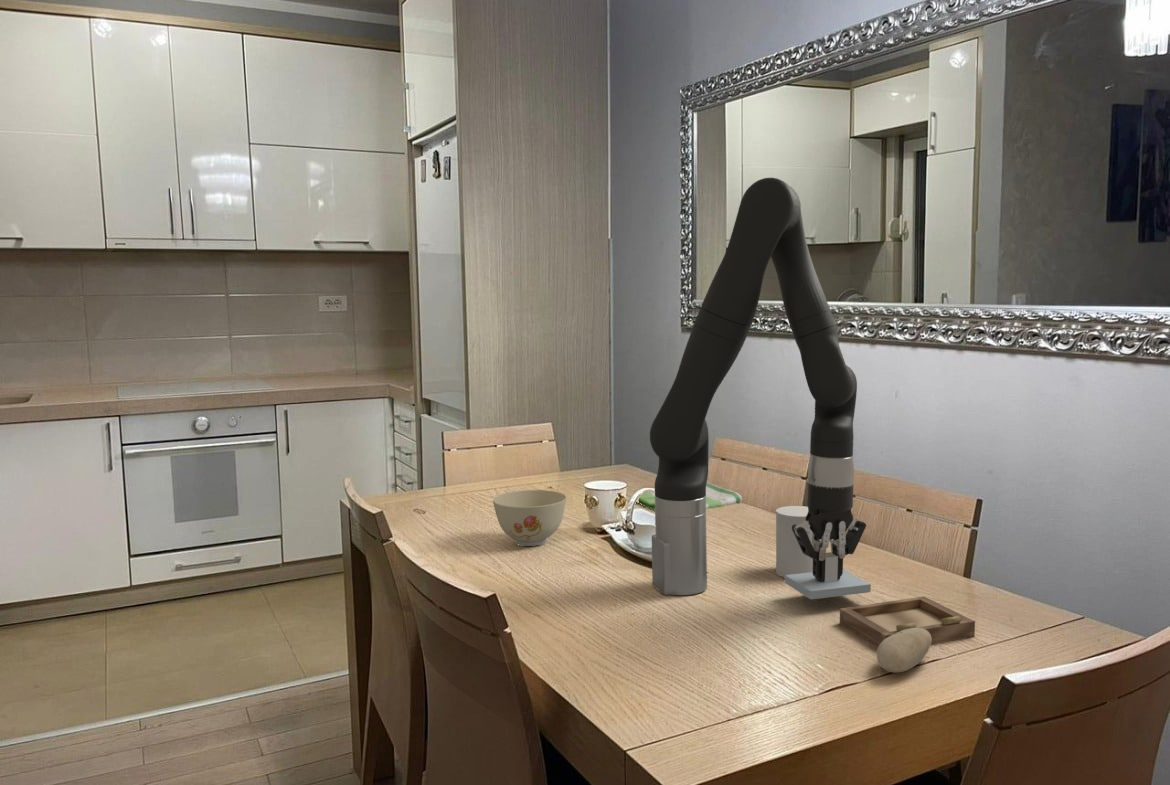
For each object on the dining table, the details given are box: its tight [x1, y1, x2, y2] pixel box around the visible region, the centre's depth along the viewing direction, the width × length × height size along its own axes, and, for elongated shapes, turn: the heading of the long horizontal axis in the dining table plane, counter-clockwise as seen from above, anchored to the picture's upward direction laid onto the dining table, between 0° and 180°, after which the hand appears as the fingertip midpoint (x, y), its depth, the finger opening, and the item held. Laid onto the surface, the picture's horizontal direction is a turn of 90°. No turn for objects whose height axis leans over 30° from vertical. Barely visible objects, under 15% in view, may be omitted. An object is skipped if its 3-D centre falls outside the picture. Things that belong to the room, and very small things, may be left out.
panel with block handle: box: [784, 551, 872, 600], centre depth 152 cm, size 12×8×6 cm
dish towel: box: [638, 481, 743, 511], centre depth 227 cm, size 17×23×4 cm
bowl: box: [492, 489, 567, 547], centre depth 193 cm, size 16×16×10 cm
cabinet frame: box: [839, 595, 976, 648], centre depth 140 cm, size 16×12×3 cm
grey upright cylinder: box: [775, 505, 813, 578], centre depth 168 cm, size 8×8×12 cm
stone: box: [876, 628, 932, 674], centre depth 127 cm, size 6×6×12 cm
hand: (827, 578), depth 153 cm, fingers closed on panel with block handle, 2 cm apart
